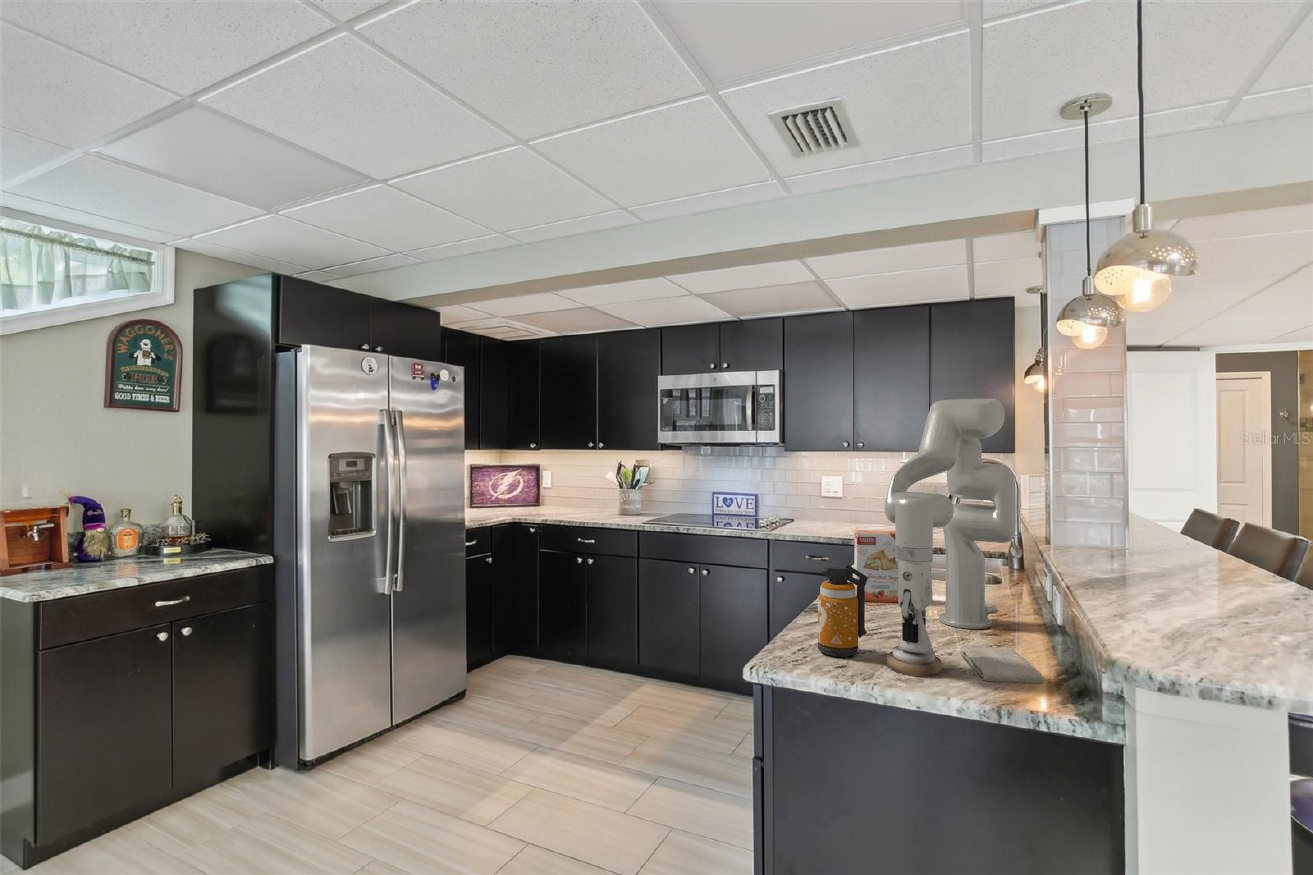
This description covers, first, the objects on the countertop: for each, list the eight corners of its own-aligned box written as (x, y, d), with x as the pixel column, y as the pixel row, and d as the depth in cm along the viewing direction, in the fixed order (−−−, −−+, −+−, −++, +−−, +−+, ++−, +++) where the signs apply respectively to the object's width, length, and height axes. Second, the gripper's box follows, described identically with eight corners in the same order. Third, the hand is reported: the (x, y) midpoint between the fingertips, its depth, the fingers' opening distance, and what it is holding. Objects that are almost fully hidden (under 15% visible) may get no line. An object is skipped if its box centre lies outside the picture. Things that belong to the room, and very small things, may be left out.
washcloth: (1010, 657, 153) (1010, 643, 153) (1045, 687, 135) (1045, 671, 135) (955, 655, 154) (955, 641, 154) (983, 684, 137) (982, 669, 137)
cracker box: (856, 601, 201) (856, 532, 201) (853, 596, 207) (853, 529, 207) (905, 603, 199) (905, 533, 199) (901, 598, 205) (901, 530, 205)
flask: (893, 650, 144) (893, 603, 144) (903, 641, 150) (903, 596, 150) (928, 656, 140) (928, 608, 140) (937, 647, 146) (937, 601, 145)
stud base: (915, 656, 152) (915, 641, 152) (953, 672, 142) (953, 656, 142) (875, 662, 148) (875, 646, 148) (911, 679, 138) (911, 662, 138)
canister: (814, 646, 160) (814, 561, 159) (861, 646, 159) (861, 562, 159) (822, 658, 151) (822, 569, 150) (872, 659, 150) (872, 569, 150)
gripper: (921, 562, 136) (921, 652, 136) (942, 549, 149) (942, 631, 150) (883, 558, 140) (884, 645, 140) (907, 546, 154) (907, 625, 154)
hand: (914, 637), depth 145 cm, fingers closed on flask, 4 cm apart
